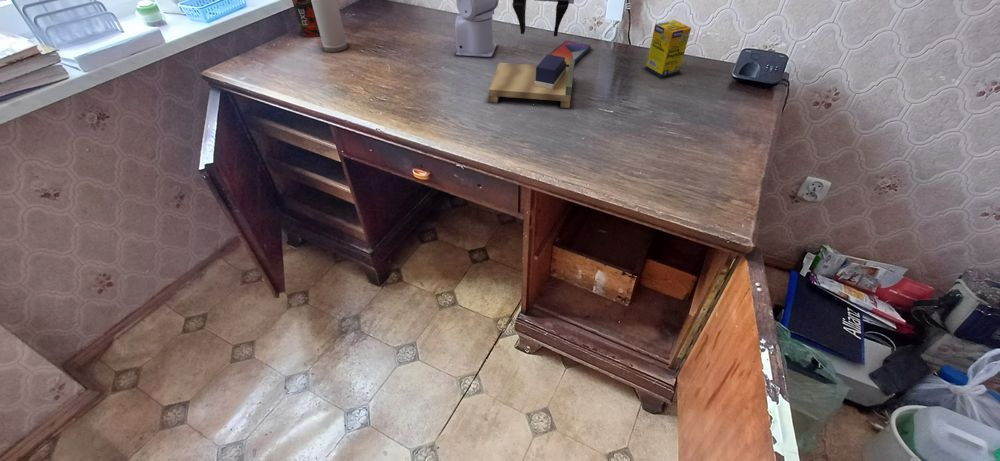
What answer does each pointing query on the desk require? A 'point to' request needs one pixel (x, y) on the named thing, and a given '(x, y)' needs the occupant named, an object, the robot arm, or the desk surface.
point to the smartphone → (571, 51)
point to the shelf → (529, 84)
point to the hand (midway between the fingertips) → (539, 33)
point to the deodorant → (306, 18)
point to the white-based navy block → (550, 71)
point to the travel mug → (330, 25)
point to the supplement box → (667, 48)
